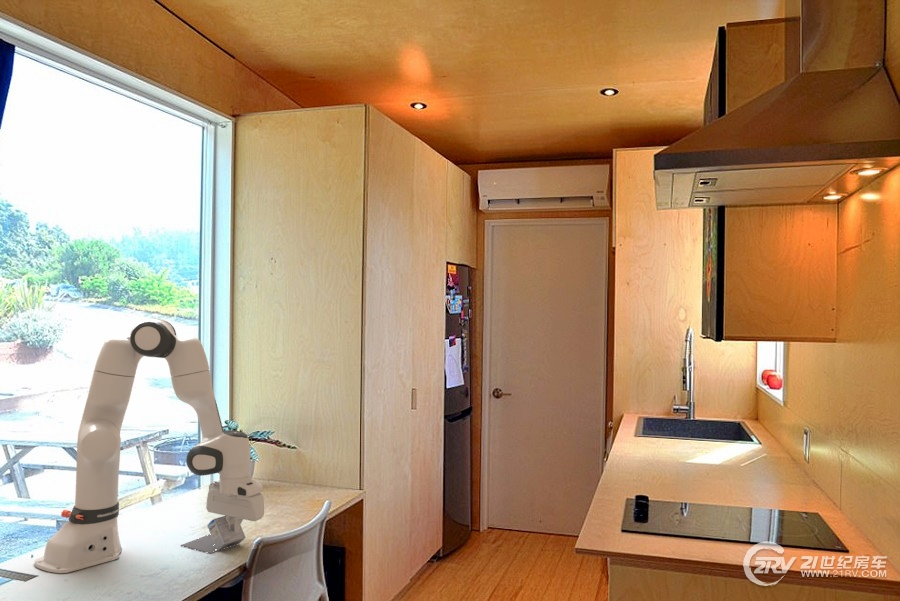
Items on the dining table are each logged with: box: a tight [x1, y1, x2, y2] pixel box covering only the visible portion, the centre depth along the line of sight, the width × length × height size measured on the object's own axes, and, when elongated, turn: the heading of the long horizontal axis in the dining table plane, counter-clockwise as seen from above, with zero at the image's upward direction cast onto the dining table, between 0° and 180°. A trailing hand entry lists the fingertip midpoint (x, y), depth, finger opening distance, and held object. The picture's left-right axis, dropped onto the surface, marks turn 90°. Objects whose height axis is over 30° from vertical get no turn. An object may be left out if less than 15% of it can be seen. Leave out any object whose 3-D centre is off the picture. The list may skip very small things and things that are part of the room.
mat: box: [180, 533, 216, 554], centre depth 212 cm, size 12×12×1 cm
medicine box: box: [207, 515, 246, 551], centre depth 210 cm, size 8×4×9 cm
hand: (234, 530), depth 208 cm, fingers closed
